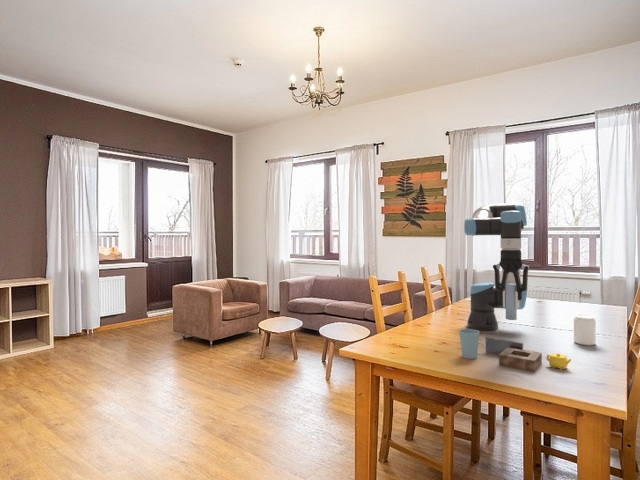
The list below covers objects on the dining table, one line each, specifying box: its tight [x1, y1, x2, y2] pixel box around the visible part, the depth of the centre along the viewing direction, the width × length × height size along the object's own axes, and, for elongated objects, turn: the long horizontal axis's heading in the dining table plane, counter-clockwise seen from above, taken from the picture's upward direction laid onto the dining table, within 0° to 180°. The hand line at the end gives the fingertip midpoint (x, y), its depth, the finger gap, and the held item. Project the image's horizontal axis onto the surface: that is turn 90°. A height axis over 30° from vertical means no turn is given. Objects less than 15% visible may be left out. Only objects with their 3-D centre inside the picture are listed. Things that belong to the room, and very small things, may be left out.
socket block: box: [498, 347, 543, 373], centre depth 149 cm, size 12×12×4 cm
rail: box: [485, 337, 524, 355], centre depth 160 cm, size 14×1×6 cm, turn 50°
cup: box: [459, 328, 480, 360], centre depth 159 cm, size 8×8×10 cm
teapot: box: [546, 353, 572, 371], centre depth 145 cm, size 8×6×5 cm
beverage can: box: [573, 314, 597, 346], centre depth 175 cm, size 8×8×12 cm
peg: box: [505, 284, 518, 321], centre depth 158 cm, size 4×4×14 cm
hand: (511, 307), depth 158 cm, fingers closed on peg, 4 cm apart
